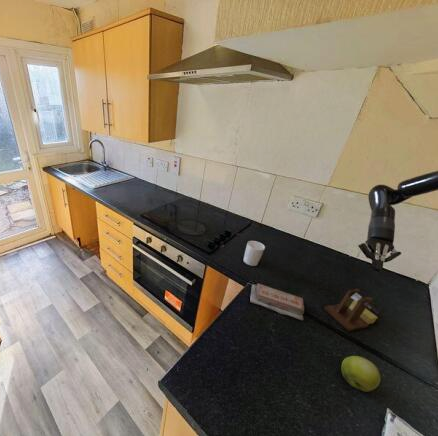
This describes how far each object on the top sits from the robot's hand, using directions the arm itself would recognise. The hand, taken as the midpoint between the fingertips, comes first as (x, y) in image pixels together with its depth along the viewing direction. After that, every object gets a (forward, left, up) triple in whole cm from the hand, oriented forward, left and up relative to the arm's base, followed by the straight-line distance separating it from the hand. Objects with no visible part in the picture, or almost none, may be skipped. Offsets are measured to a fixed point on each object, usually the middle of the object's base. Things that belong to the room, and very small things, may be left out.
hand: (376, 270), depth 88 cm
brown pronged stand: (+17, +7, -14) cm, 23 cm away
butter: (+10, +7, -14) cm, 19 cm away
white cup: (+32, -29, -15) cm, 45 cm away
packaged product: (+39, -4, -15) cm, 42 cm away
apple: (+37, +25, -15) cm, 47 cm away
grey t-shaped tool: (+12, +7, -9) cm, 17 cm away
